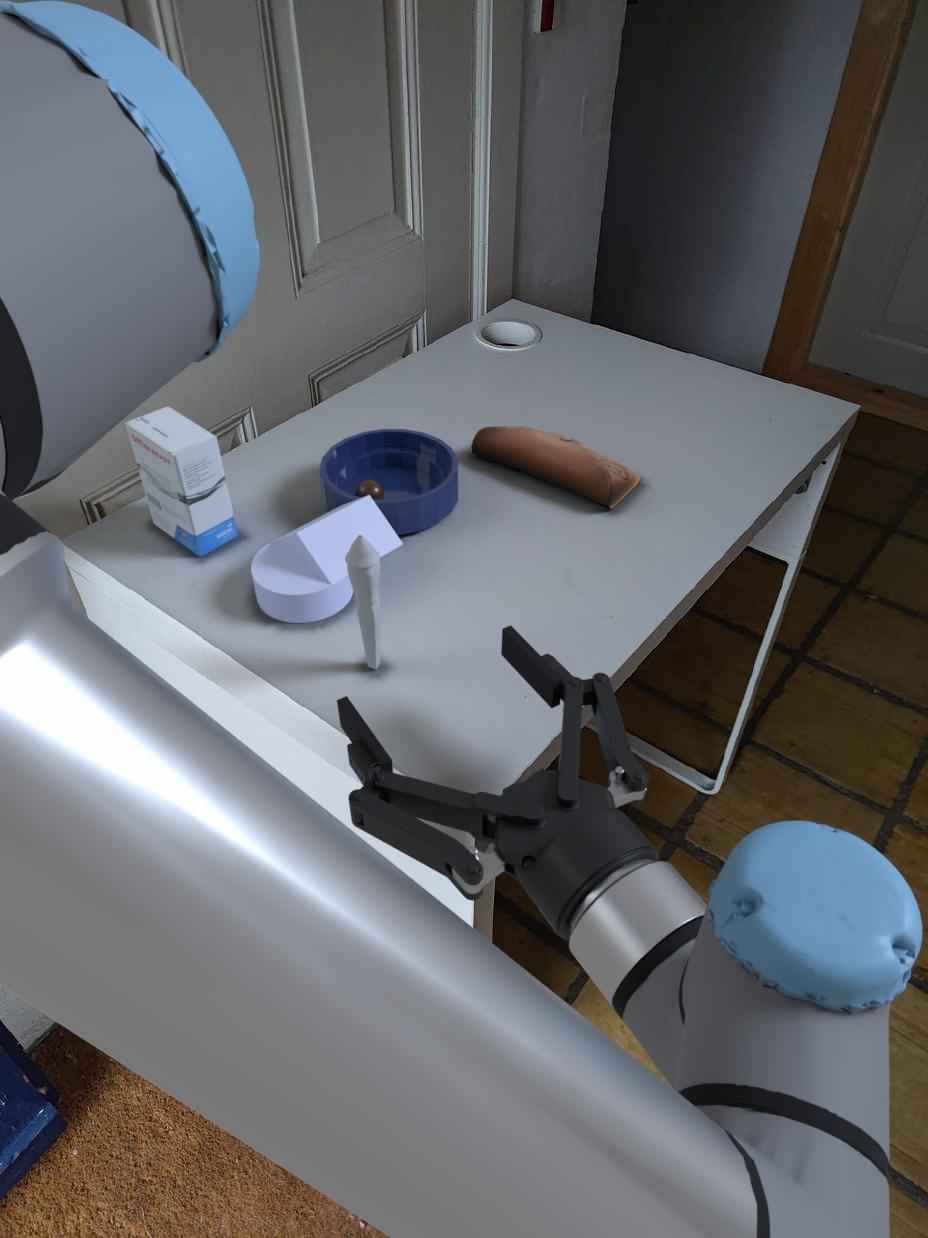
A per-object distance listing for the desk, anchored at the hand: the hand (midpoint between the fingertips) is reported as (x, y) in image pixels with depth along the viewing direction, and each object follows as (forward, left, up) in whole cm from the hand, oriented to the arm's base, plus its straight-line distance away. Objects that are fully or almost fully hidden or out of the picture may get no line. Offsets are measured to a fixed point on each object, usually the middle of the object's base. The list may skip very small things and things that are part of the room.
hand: (427, 673), depth 63 cm
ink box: (-25, +28, -8) cm, 38 cm away
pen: (-5, +8, -8) cm, 12 cm away
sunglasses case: (+13, +39, -8) cm, 42 cm away
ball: (-7, +31, -5) cm, 32 cm away
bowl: (-5, +33, -7) cm, 34 cm away
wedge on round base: (-11, +20, -8) cm, 24 cm away
